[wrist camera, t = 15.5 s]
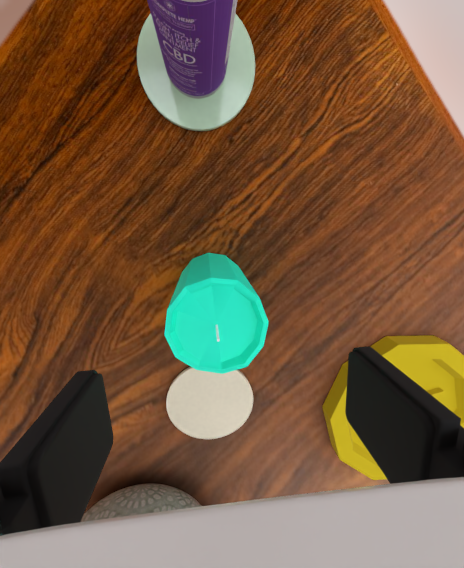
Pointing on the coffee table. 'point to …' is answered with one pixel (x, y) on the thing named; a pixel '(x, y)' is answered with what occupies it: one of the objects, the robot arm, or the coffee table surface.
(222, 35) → the container
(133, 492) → the planter
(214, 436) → the far coaster
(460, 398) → the decorative disc
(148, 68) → the near coaster
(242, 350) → the candle
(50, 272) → the coffee table surface
